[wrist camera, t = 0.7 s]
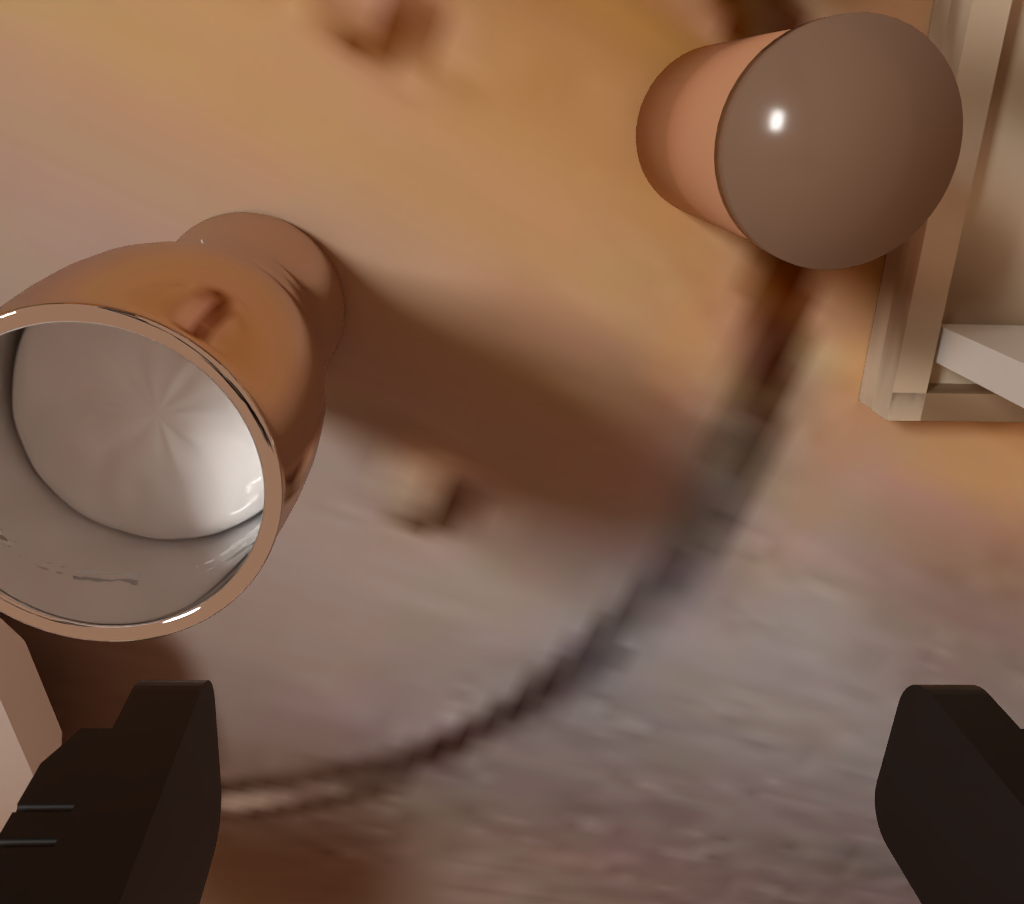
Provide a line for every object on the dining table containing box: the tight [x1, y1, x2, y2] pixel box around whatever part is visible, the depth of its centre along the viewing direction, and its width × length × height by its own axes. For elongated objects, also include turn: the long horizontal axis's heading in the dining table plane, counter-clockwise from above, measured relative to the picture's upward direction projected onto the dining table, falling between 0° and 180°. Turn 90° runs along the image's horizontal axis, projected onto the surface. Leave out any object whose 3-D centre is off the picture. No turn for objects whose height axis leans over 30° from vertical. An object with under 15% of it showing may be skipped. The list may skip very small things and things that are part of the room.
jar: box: [636, 12, 963, 270], centre depth 24 cm, size 5×5×10 cm
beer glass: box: [0, 212, 345, 642], centre depth 23 cm, size 7×7×15 cm
